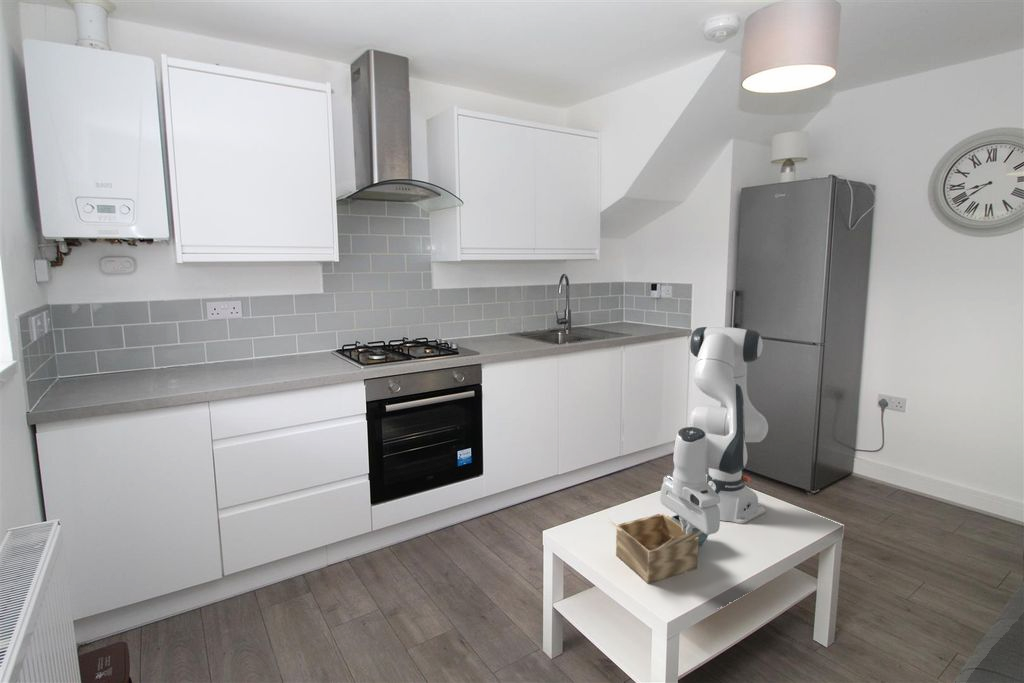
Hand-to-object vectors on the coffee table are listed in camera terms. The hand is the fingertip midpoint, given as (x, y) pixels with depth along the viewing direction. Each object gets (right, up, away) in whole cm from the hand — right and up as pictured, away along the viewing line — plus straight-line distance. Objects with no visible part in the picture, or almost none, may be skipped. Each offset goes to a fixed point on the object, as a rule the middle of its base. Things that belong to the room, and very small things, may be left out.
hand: (686, 532), depth 149 cm
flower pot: (+9, -13, +24) cm, 28 cm away
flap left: (-1, -2, +2) cm, 3 cm away
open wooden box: (-5, -14, +15) cm, 21 cm away
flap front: (-16, -2, +8) cm, 18 cm away
